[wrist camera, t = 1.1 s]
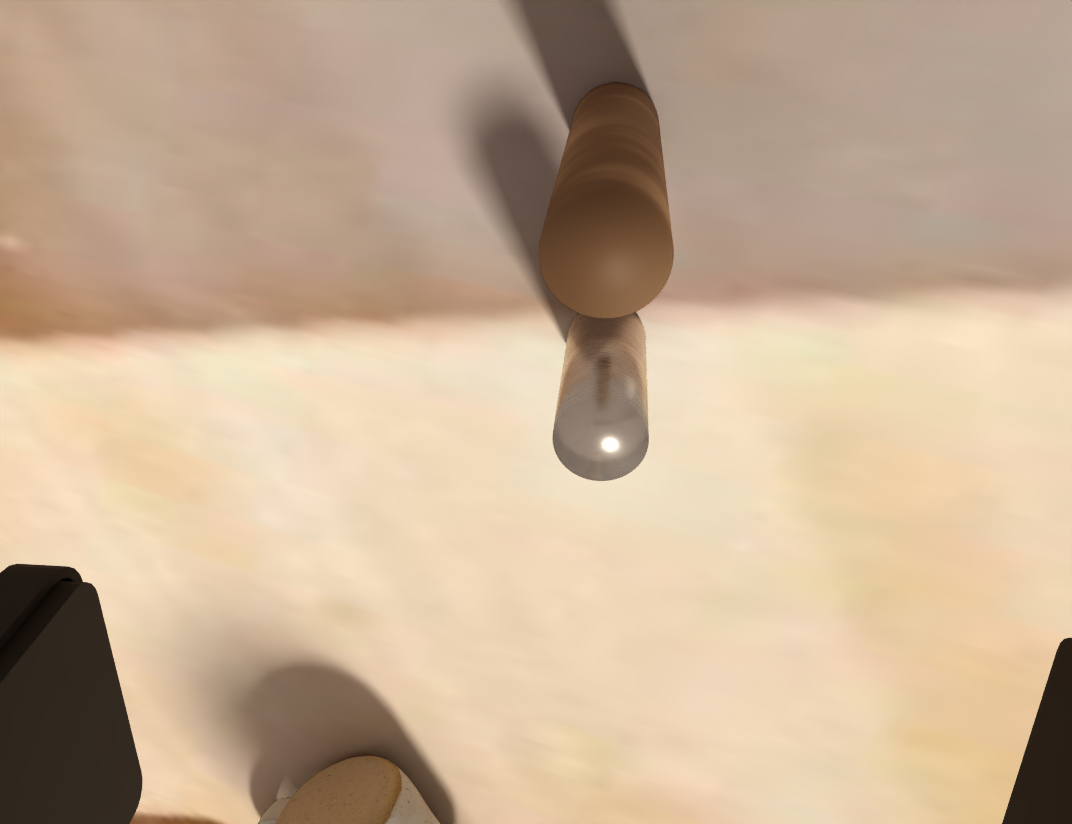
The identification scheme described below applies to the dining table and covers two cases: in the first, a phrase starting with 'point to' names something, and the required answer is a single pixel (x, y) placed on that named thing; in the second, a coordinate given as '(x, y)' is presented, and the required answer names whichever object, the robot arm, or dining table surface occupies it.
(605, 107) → the long pin
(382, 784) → the ceramic mug
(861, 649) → the dining table surface
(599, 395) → the medium pin
